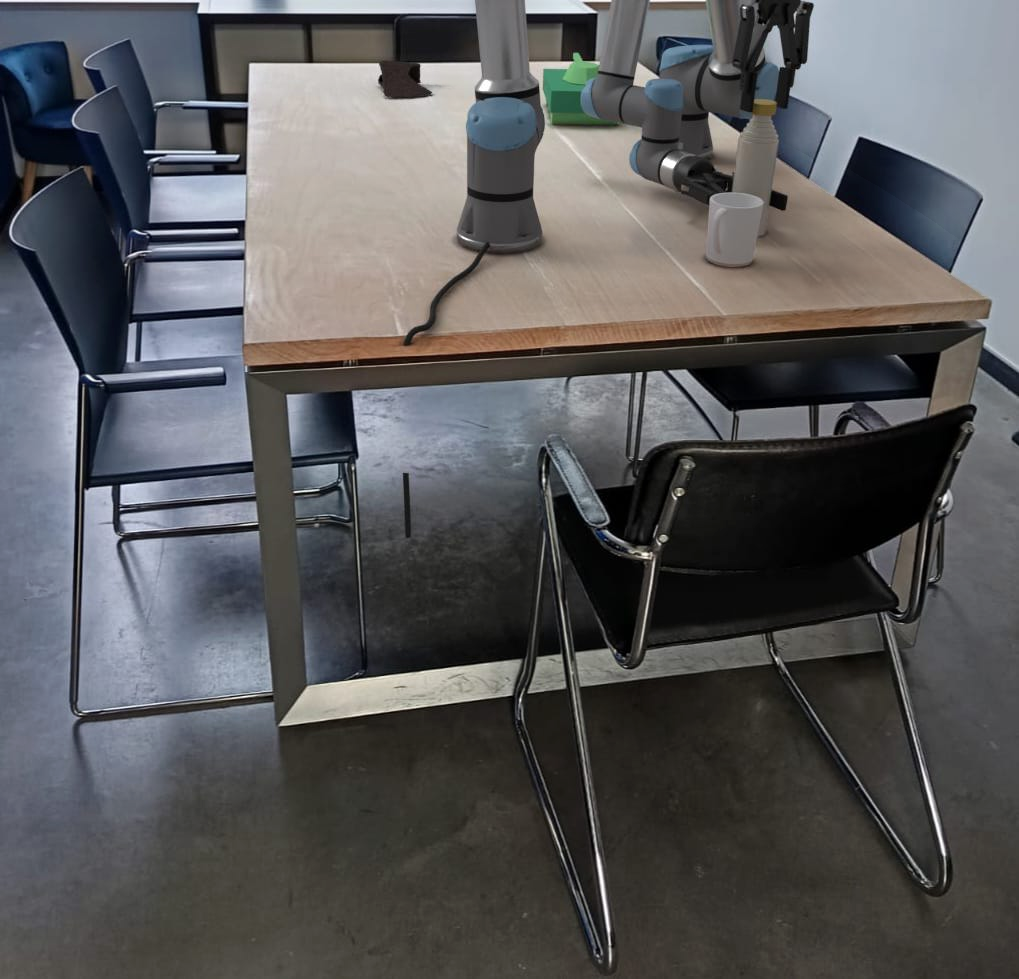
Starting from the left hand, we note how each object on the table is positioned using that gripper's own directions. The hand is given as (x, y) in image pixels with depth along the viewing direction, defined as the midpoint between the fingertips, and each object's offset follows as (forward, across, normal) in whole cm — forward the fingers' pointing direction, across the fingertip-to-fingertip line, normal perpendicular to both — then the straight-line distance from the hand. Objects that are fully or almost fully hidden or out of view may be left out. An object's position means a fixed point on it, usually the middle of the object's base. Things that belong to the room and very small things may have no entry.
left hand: (763, 108), depth 192 cm
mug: (+22, -13, -12) cm, 29 cm away
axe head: (+22, -17, +135) cm, 138 cm away
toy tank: (+22, +17, +96) cm, 100 cm away
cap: (-1, 0, 0) cm, 1 cm away
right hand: (+16, 0, -5) cm, 17 cm away
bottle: (+22, 0, 0) cm, 22 cm away
